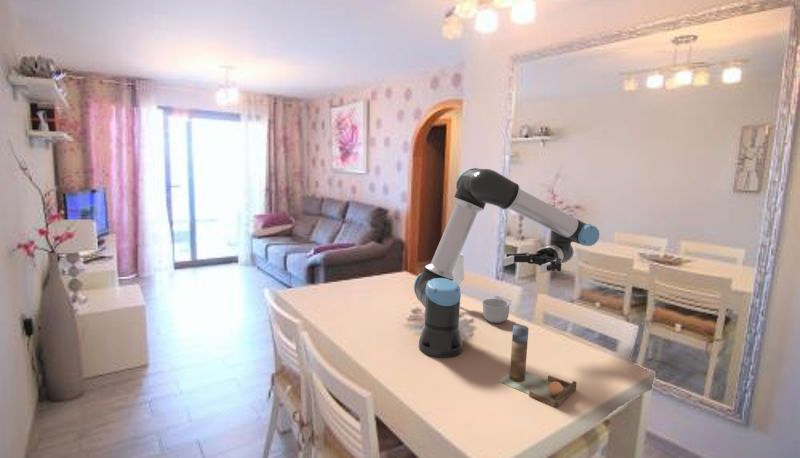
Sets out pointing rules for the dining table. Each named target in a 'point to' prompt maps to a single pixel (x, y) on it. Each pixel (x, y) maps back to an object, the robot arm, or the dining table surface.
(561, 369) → the dining table surface
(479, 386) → the dining table surface
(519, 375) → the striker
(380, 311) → the dining table surface
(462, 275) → the champagne flute
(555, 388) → the ball
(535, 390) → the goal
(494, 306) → the teacup
